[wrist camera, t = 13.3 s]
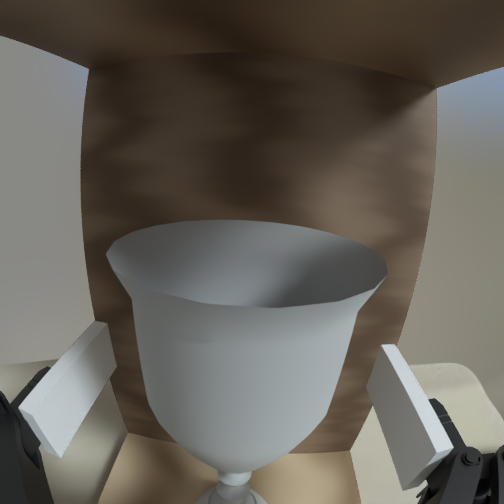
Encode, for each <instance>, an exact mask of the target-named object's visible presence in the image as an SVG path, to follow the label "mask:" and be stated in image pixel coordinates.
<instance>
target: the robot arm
mask: <svg viewBox="0 0 504 504" xmlns="http://www.w3.org/2000/svg"><path fill="white" fill-rule="evenodd" d="M116 367H117V365H116V361H115V356H114V352H113V348H112V343H111V339H110V334H109V329H108V324H107V323H104V322H98V321H94V322H93V323H92V324H91V325H90V326H89V328H87V330H86V331H85V332H84V333H83V334H82V335H81V336H80V337H79V338H78V339H77V340H76V341H75V342H74V343H73V344H72V346H71V347H70V348H69V349H68V350H67V351H66V352H65V353H64V354H63V356H62V357H61V358H60V359H59V360H58V361H57V362H56V363H55V364H54V366H53V367H52V368H50V367H46V368H44V369H42V370H40V371H39V372H38V373H37V374H36V375H35V376H34V377H33V378H32V380H31V381H30V382H29V383H28V384H27V386H25V387H24V389H23V390H22V391H21V392H20V393H19V394H18V396H17V397H16V398H15V399H14V400H13V401H12V403H11V404H9V402H8V401H7V399H6V397H5V395H4V394H3V393H2V392H1V391H0V504H54V502H53V499H52V495H51V492H50V489H49V485H48V482H47V478H46V474H45V470H44V466H43V462H42V457H41V453H40V451H39V449H38V447H39V446H40V444H42V446H43V447H44V448H45V450H46V451H47V452H49V453H51V454H53V455H55V456H57V457H59V458H61V457H62V455H63V453H64V452H65V450H66V448H67V446H68V445H69V443H70V441H71V440H72V438H73V436H74V435H75V433H76V431H77V429H78V428H79V426H80V424H81V423H82V421H83V420H84V418H85V416H86V415H87V413H88V411H89V410H90V408H91V406H92V405H93V403H94V402H95V400H96V398H97V397H98V395H99V394H100V392H101V391H102V389H103V387H104V386H105V384H106V383H107V381H108V380H109V378H110V376H111V375H112V373H113V372H114V370H115V369H116ZM366 388H367V391H368V393H369V396H370V398H371V401H372V404H373V406H374V409H375V412H376V414H377V417H378V420H379V422H380V425H381V428H382V431H383V434H384V436H385V439H386V442H387V445H388V448H389V451H390V454H391V456H392V459H393V462H394V465H395V468H396V471H397V475H398V478H399V481H400V484H401V487H402V490H407V489H411V488H414V487H418V486H419V485H420V484H421V483H422V482H423V481H424V480H425V479H426V480H427V483H428V485H427V486H426V487H425V488H424V489H423V490H422V491H421V492H420V493H419V494H418V495H417V496H416V497H417V498H418V497H420V496H421V495H422V496H421V498H420V500H419V502H418V504H504V445H503V446H501V447H500V448H499V449H498V450H497V451H496V453H489V454H481V453H480V452H479V451H478V450H477V449H475V448H473V447H467V446H466V445H465V443H464V442H463V440H462V438H461V436H460V434H459V432H458V431H457V429H456V427H455V425H454V424H453V422H451V421H452V420H451V418H450V417H449V415H448V413H447V411H446V410H445V408H444V406H443V405H442V404H441V403H440V402H439V401H437V400H436V399H435V398H433V399H427V397H426V395H425V393H424V392H423V390H422V388H421V387H420V385H419V383H418V381H417V380H416V378H415V376H414V375H413V373H412V371H411V370H410V368H409V366H408V365H407V363H406V361H405V360H404V359H403V357H402V355H401V353H400V352H399V350H398V349H397V347H396V345H395V344H387V345H381V347H380V350H379V353H378V356H377V358H376V361H375V364H374V367H373V370H372V372H371V375H370V378H369V380H368V383H367V386H366Z"/></svg>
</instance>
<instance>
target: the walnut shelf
mask: <svg viewBox="0 0 504 504" xmlns="http://www.w3.org/2000/svg"><path fill="white" fill-rule="evenodd" d="M0 36H4V37H7V38H10V39H13V40H16V41H19V42H22V43H25V44H28V45H30V46H34V47H36V48H39V49H42V50H44V51H47V52H50V53H52V54H55V55H57V56H60V57H62V58H65V59H67V60H69V61H72V62H74V63H77V64H79V65H81V66H84V67H86V68H88V69H89V75H88V81H87V88H86V95H85V104H84V114H83V125H82V140H81V213H82V228H83V241H84V251H85V259H86V268H87V275H88V282H89V288H90V294H91V300H92V306H93V311H94V317H95V321H98V322H104V323H107V324H108V329H109V334H110V339H111V343H112V348H113V352H114V356H115V361H116V365H117V367H116V369H115V370H114V372H113V373H112V375H111V376H110V381H111V384H112V388H113V391H114V394H115V397H116V400H117V403H118V406H119V409H120V412H121V414H122V417H123V420H124V423H125V425H126V428H127V431H128V434H127V436H126V438H125V440H124V443H123V445H122V447H121V449H120V452H119V454H118V456H117V459H116V461H115V463H114V465H113V468H112V470H111V472H110V475H109V477H108V479H107V482H106V484H105V487H104V489H103V491H102V494H101V496H100V499H99V501H98V503H97V504H195V502H196V501H197V499H198V498H199V497H200V496H201V495H202V494H203V493H205V492H206V491H208V490H210V489H211V488H213V487H215V486H217V483H218V481H219V480H220V479H219V478H218V474H217V472H218V470H217V469H215V468H213V467H211V466H209V465H207V464H205V463H203V462H201V461H199V460H198V459H196V458H195V457H194V456H192V455H191V454H190V453H188V452H187V451H186V450H184V449H183V448H182V447H181V446H180V445H179V444H178V443H177V442H176V441H175V440H174V439H173V438H172V437H171V436H170V435H169V434H168V433H167V431H166V430H165V429H164V428H163V427H162V426H161V425H160V424H159V422H158V420H157V418H156V416H155V415H154V413H153V411H152V409H151V407H150V405H149V403H148V399H147V394H146V389H145V384H144V379H143V374H142V368H141V363H140V357H139V351H138V344H137V337H136V330H135V323H134V315H133V306H132V299H131V297H130V296H129V294H128V293H127V291H126V290H125V288H124V286H123V285H122V283H121V282H120V280H119V279H118V277H117V276H116V274H115V272H114V271H113V269H112V267H111V265H110V262H109V260H108V258H107V256H106V253H107V251H108V250H109V248H110V247H111V245H112V244H113V242H114V241H116V240H118V239H120V238H121V237H123V236H125V235H127V234H129V233H131V232H134V231H137V230H141V229H145V228H148V227H152V226H156V225H162V224H169V223H176V222H184V221H200V220H248V221H262V222H273V223H281V224H288V225H295V226H302V227H307V228H311V229H316V230H321V231H325V232H329V233H332V234H336V235H339V236H342V237H345V238H348V239H351V240H354V241H356V242H358V243H360V244H362V245H364V246H366V247H368V248H370V249H372V250H374V251H375V252H376V253H377V254H378V255H379V256H380V257H381V258H382V259H384V260H385V261H386V267H387V272H388V275H387V276H386V277H385V279H384V280H383V281H382V283H381V284H380V285H379V286H378V288H377V289H376V290H375V291H374V293H373V294H372V295H371V296H370V297H369V299H368V300H367V301H366V302H365V303H364V305H363V306H362V307H361V308H360V309H359V311H358V313H357V317H356V321H355V324H354V328H353V332H352V336H351V339H350V343H349V346H348V350H347V353H346V357H345V360H344V363H343V367H342V370H341V373H340V376H339V379H338V382H337V385H336V388H335V391H334V394H333V397H332V400H331V403H330V406H329V408H328V411H327V414H326V416H325V417H324V418H323V420H322V421H321V422H320V423H319V424H318V425H317V427H316V428H315V429H314V430H313V431H312V432H311V433H310V434H309V435H308V436H307V437H306V438H305V439H304V440H303V441H302V442H300V443H299V444H298V445H297V446H296V447H295V448H294V449H292V450H291V451H290V452H289V453H288V454H286V455H285V456H283V457H281V458H279V459H277V460H275V461H273V462H271V463H269V464H267V465H265V466H263V467H261V468H258V469H256V470H253V471H251V472H252V473H251V477H250V479H249V480H248V482H249V484H250V486H251V487H250V489H252V490H254V491H255V492H256V493H257V494H259V495H260V496H261V497H262V498H263V499H264V500H265V501H266V502H267V504H361V499H360V495H359V490H358V485H357V480H356V476H355V471H354V467H353V463H352V458H351V454H350V449H351V447H352V446H353V444H354V442H355V440H356V438H357V436H358V434H359V432H360V430H361V428H362V426H363V424H364V422H365V420H366V418H367V416H368V414H369V412H370V410H371V408H372V405H373V404H372V401H371V398H370V396H369V393H368V391H367V388H366V386H367V383H368V380H369V378H370V375H371V372H372V370H373V367H374V364H375V361H376V358H377V356H378V353H379V350H380V347H381V345H387V344H395V345H396V346H397V343H398V340H399V337H400V334H401V331H402V328H403V325H404V322H405V319H406V316H407V312H408V308H409V305H410V302H411V298H412V294H413V291H414V287H415V283H416V279H417V275H418V271H419V267H420V262H421V257H422V252H423V248H424V243H425V237H426V232H427V226H428V219H429V214H430V207H431V198H432V190H433V182H434V172H435V159H436V140H437V90H436V88H438V87H441V86H444V85H447V84H450V83H453V82H456V81H459V80H462V79H465V78H468V77H471V76H474V75H477V74H480V73H484V72H487V71H490V70H494V69H497V68H501V67H504V0H0Z"/></svg>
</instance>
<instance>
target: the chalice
mask: <svg viewBox="0 0 504 504" xmlns="http://www.w3.org/2000/svg"><path fill="white" fill-rule="evenodd" d="M106 256H107V258H108V260H109V262H110V265H111V267H112V269H113V271H114V272H115V274H116V276H117V277H118V279H119V280H120V282H121V283H122V285H123V286H124V288H125V290H126V291H127V293H128V294H129V296H130V297H131V299H132V306H133V315H134V323H135V330H136V337H137V344H138V351H139V357H140V363H141V368H142V374H143V379H144V384H145V389H146V394H147V399H148V403H149V405H150V407H151V409H152V411H153V413H154V415H155V416H156V418H157V420H158V422H159V424H160V425H161V426H162V427H163V428H164V429H165V430H166V431H167V433H168V434H169V435H170V436H171V437H172V438H173V439H174V440H175V441H176V442H177V443H178V444H179V445H180V446H181V447H182V448H183V449H184V450H186V451H187V452H188V453H190V454H191V455H192V456H194V457H195V458H196V459H198V460H199V461H201V462H203V463H205V464H207V465H209V466H211V467H213V468H215V469H217V470H218V472H217V474H218V478H219V479H220V480H219V481H218V483H217V486H215V487H213V488H211V489H210V490H208V491H206V492H205V493H203V494H202V495H201V496H200V497H199V498H198V499H197V501H196V502H195V504H267V502H266V501H265V500H264V499H263V498H262V497H261V496H260V495H259V494H257V493H256V492H255V491H254V490H252V489H250V487H251V486H250V484H249V482H248V480H249V479H250V477H251V473H252V472H251V471H253V470H256V469H258V468H261V467H263V466H265V465H267V464H269V463H271V462H273V461H275V460H277V459H279V458H281V457H283V456H285V455H286V454H288V453H289V452H290V451H291V450H292V449H294V448H295V447H296V446H297V445H298V444H299V443H300V442H302V441H303V440H304V439H305V438H306V437H307V436H308V435H309V434H310V433H311V432H312V431H313V430H314V429H315V428H316V427H317V425H318V424H319V423H320V422H321V421H322V420H323V418H324V417H325V416H326V414H327V411H328V408H329V406H330V403H331V400H332V397H333V394H334V391H335V388H336V385H337V382H338V379H339V376H340V373H341V370H342V367H343V363H344V360H345V357H346V353H347V350H348V346H349V343H350V339H351V336H352V332H353V328H354V324H355V321H356V317H357V313H358V311H359V309H360V308H361V307H362V306H363V305H364V303H365V302H366V301H367V300H368V299H369V297H370V296H371V295H372V294H373V293H374V291H375V290H376V289H377V288H378V286H379V285H380V284H381V283H382V281H383V280H384V279H385V277H386V276H387V275H388V272H387V267H386V261H385V260H384V259H382V258H381V257H380V256H379V255H378V254H377V253H376V252H375V251H374V250H372V249H370V248H368V247H366V246H364V245H362V244H360V243H358V242H356V241H354V240H351V239H348V238H345V237H342V236H339V235H336V234H332V233H329V232H325V231H321V230H316V229H311V228H307V227H302V226H295V225H288V224H281V223H273V222H262V221H248V220H200V221H184V222H176V223H169V224H162V225H156V226H152V227H148V228H145V229H141V230H137V231H134V232H131V233H129V234H127V235H125V236H123V237H121V238H120V239H118V240H116V241H114V242H113V244H112V245H111V247H110V248H109V250H108V251H107V253H106Z"/></svg>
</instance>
